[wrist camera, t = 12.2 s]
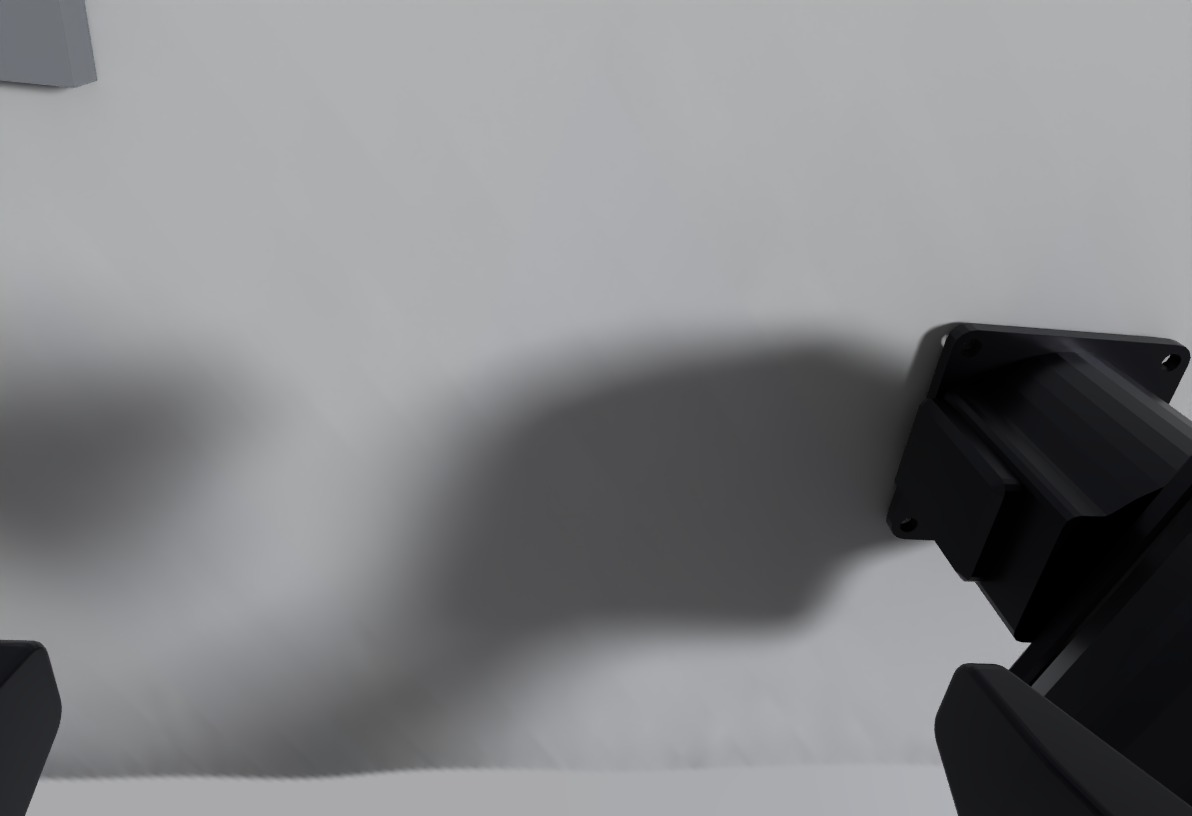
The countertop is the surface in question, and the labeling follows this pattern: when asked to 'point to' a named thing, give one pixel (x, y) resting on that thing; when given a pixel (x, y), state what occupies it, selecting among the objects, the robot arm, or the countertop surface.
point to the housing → (45, 43)
